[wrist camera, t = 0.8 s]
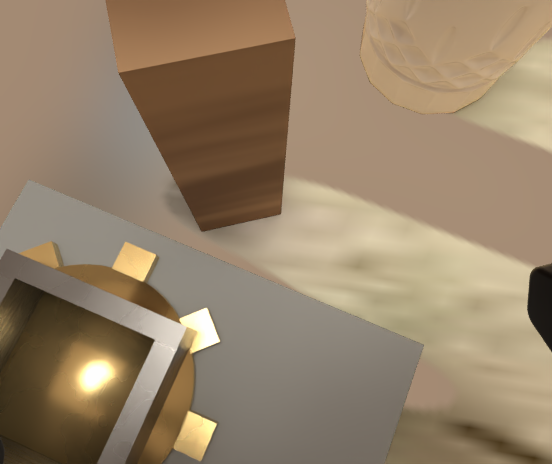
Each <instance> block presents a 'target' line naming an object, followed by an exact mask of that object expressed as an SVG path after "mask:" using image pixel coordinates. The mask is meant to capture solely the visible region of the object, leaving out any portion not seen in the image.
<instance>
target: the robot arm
mask: <svg viewBox="0 0 552 464" xmlns="http://www.w3.org/2000/svg"><path fill="white" fill-rule="evenodd" d="M527 310H528V315H529V318H530V320H531V322H532V324H533V325H534V327H535V328H536V330H537V331H538V332H539V334H540V335H541V337H542V338H543V340H544V341H545V343H546V344H547V346H548V347H549V349H550V350H551V352H552V264H547V265H543V266H539V267H536V268H534V269H533V270H532V272H531V274H530V280H529V293H528V305H527ZM4 456H5V452H4V445H3V442H2V440H1V438H0V464H4Z"/></svg>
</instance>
